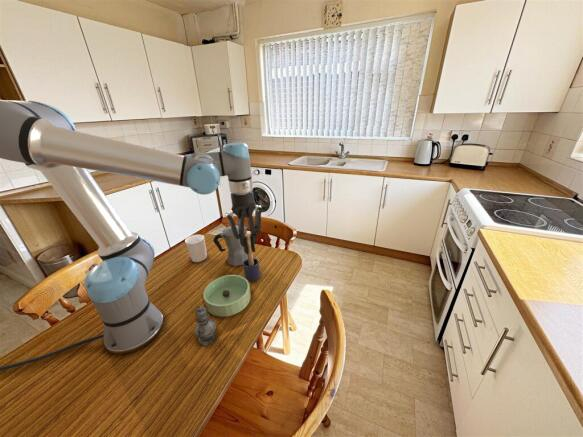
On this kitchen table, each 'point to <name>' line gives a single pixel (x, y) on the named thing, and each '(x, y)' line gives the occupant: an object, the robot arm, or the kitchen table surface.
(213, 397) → the kitchen table surface
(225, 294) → the bead
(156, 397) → the kitchen table surface
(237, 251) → the coffeepot
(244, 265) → the utensil pot
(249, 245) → the stirring stick
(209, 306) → the bowl
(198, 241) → the white cup
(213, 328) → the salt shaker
